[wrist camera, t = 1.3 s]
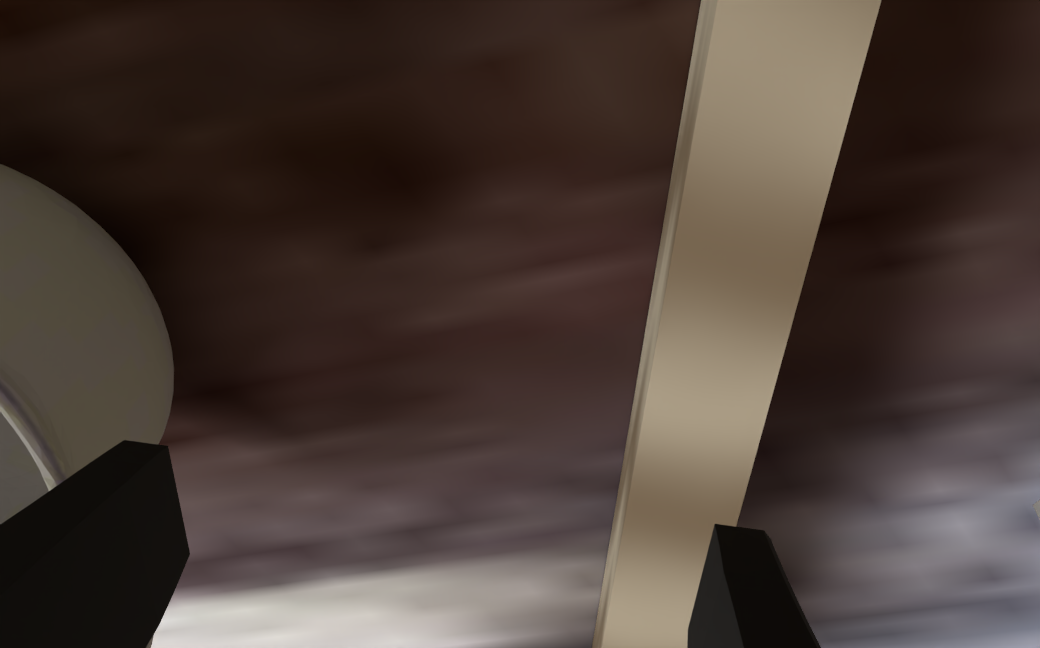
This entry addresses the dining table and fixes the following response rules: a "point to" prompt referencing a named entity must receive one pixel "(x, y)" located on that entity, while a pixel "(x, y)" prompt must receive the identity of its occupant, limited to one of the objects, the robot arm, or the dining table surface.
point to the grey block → (1037, 508)
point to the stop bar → (725, 290)
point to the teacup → (71, 344)
